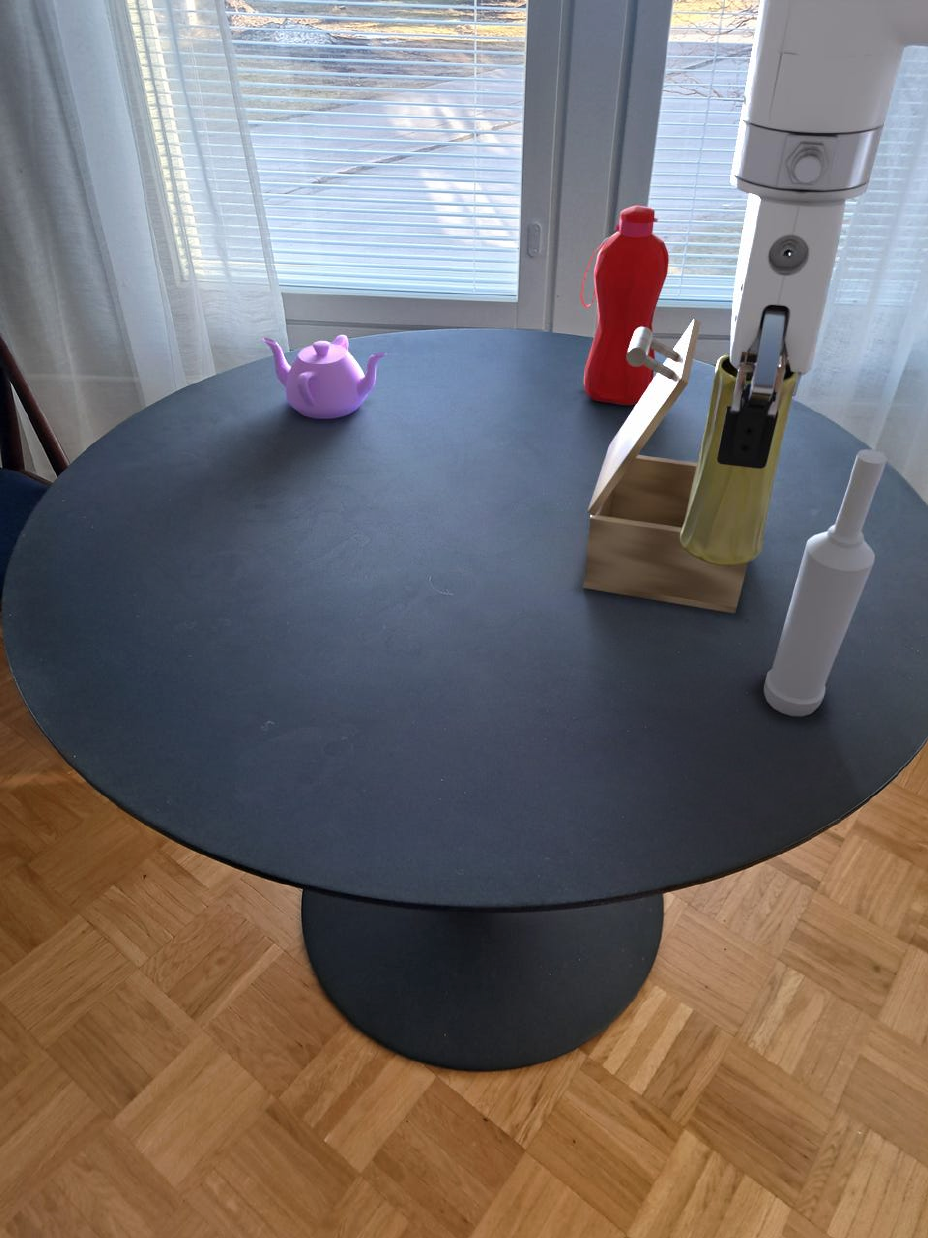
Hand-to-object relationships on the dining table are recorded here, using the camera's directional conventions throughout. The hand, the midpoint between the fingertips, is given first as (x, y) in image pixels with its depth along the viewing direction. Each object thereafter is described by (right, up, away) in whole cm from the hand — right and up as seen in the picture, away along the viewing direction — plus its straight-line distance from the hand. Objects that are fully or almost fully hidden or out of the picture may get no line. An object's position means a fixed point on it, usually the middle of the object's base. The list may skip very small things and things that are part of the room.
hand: (742, 439), depth 61 cm
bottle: (+10, -20, +19) cm, 29 cm away
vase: (0, -7, +6) cm, 9 cm away
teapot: (-39, +18, +63) cm, 76 cm away
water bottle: (+2, +20, +65) cm, 68 cm away
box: (+2, -6, +34) cm, 35 cm away
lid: (-2, +7, +24) cm, 25 cm away
